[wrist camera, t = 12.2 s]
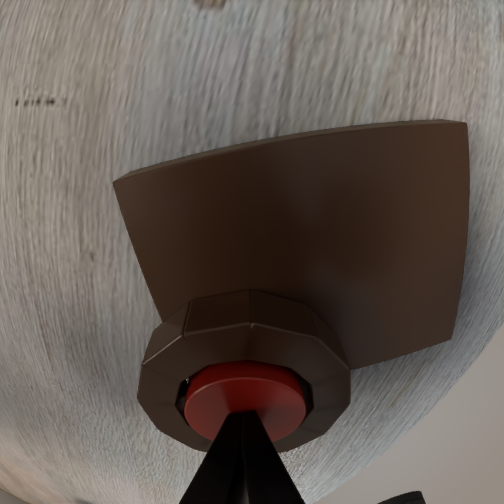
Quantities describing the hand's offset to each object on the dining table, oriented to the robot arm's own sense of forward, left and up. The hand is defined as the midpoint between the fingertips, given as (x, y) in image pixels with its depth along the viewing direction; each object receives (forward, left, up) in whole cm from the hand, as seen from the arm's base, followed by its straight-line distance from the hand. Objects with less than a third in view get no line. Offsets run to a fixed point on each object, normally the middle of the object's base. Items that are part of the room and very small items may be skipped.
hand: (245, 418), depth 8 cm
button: (0, 0, -2) cm, 2 cm away
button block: (-2, -2, -3) cm, 5 cm away
